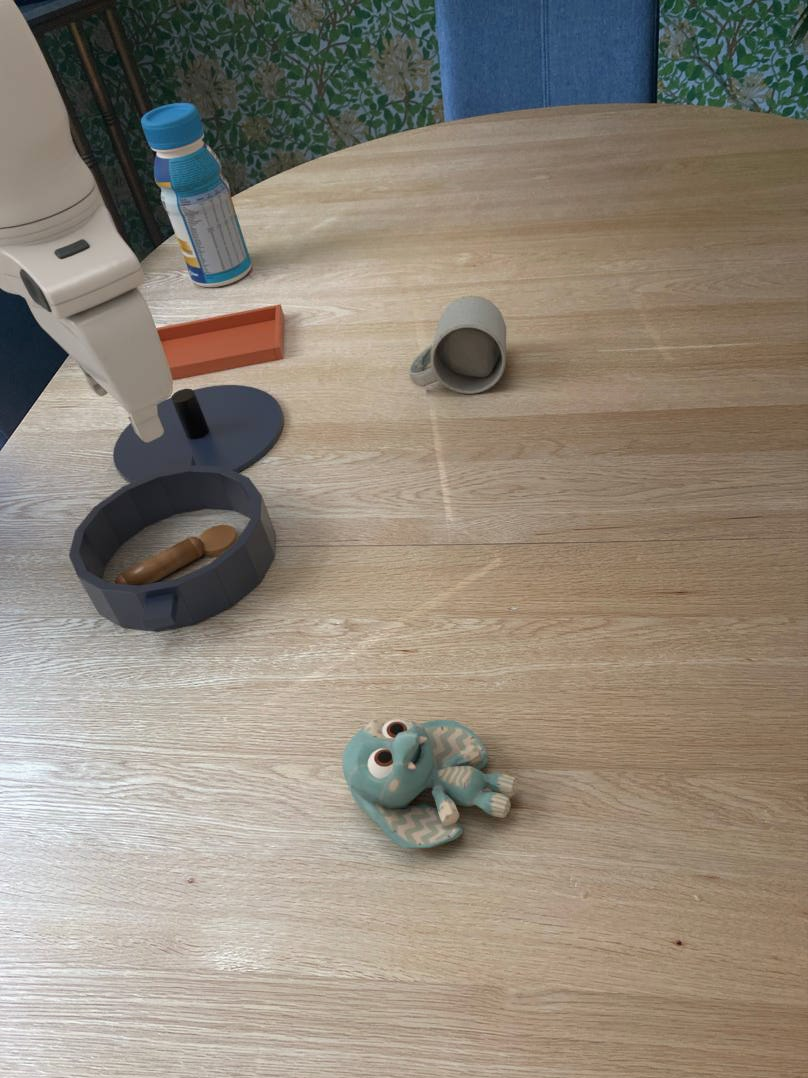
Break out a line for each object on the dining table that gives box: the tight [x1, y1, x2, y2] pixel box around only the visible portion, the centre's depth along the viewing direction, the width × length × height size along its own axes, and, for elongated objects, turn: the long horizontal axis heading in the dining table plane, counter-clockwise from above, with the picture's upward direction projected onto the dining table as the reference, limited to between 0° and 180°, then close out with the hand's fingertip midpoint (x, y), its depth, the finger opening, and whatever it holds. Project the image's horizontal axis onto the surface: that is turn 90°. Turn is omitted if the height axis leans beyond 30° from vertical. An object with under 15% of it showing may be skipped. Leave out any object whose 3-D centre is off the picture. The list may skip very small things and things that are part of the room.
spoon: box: [114, 524, 239, 586], centre depth 90 cm, size 12×4×2 cm, turn 127°
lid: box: [112, 384, 285, 484], centre depth 103 cm, size 18×18×6 cm
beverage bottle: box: [140, 102, 253, 288], centre depth 126 cm, size 8×8×20 cm
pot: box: [68, 456, 277, 632], centre depth 90 cm, size 17×22×5 cm
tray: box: [156, 303, 285, 381], centre depth 117 cm, size 17×10×2 cm, turn 97°
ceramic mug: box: [408, 295, 507, 395], centre depth 105 cm, size 11×8×8 cm
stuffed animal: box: [341, 716, 518, 850], centre depth 68 cm, size 11×7×12 cm
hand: (127, 412), depth 80 cm, fingers open, 8 cm apart
